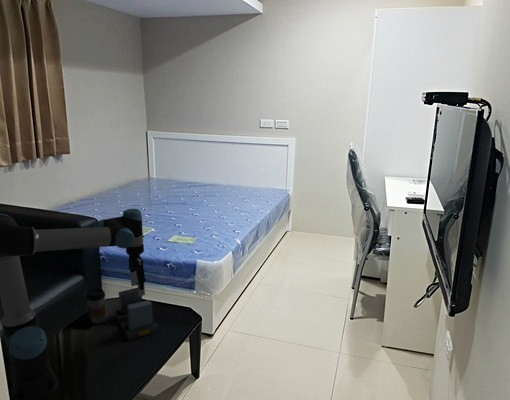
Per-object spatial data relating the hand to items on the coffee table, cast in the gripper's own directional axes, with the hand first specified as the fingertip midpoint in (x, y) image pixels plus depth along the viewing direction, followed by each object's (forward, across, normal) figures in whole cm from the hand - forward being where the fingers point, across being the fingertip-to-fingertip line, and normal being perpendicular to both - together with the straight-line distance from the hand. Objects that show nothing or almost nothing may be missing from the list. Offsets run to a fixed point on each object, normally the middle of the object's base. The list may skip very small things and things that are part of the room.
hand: (138, 290), depth 187 cm
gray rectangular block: (+19, 0, 0) cm, 19 cm away
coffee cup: (+21, +20, +15) cm, 32 cm away
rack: (+21, +8, 0) cm, 22 cm away
